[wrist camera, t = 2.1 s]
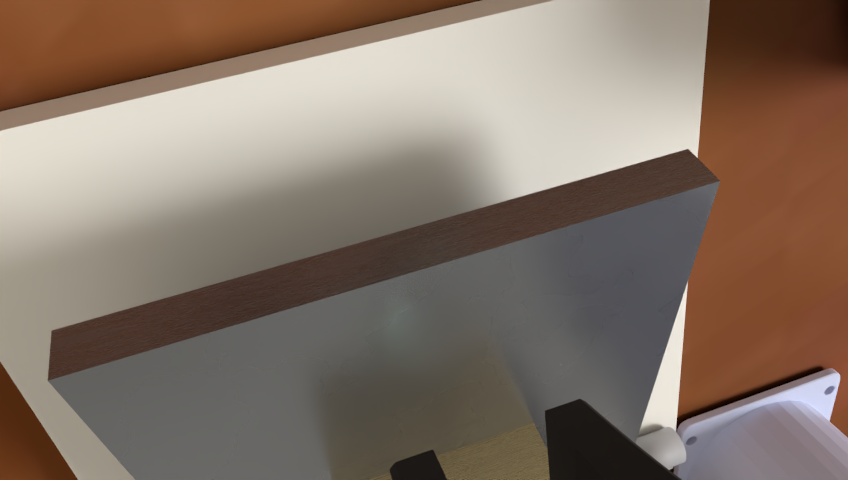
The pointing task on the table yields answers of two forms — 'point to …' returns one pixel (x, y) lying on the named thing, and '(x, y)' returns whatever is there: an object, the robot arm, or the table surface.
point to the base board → (327, 163)
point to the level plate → (404, 341)
